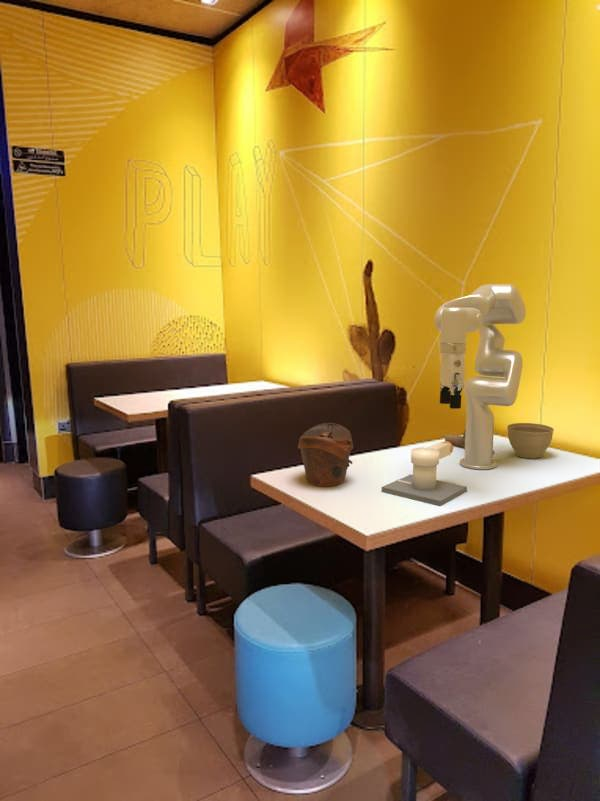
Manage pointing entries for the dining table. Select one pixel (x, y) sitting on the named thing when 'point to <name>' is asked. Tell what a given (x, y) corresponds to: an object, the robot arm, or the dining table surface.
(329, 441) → the brown domed pot
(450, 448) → the cream piece
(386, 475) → the dining table surface
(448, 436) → the pipe
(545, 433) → the planter bowl
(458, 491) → the base
